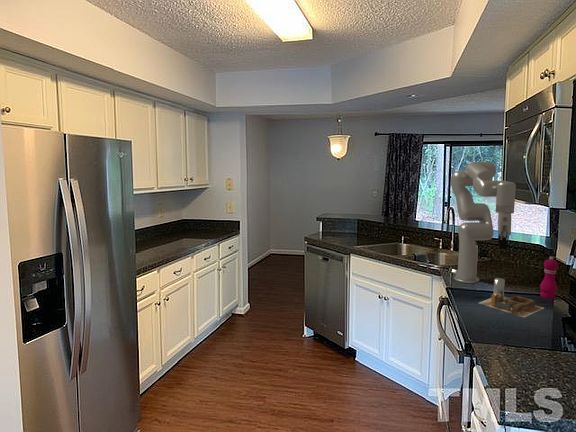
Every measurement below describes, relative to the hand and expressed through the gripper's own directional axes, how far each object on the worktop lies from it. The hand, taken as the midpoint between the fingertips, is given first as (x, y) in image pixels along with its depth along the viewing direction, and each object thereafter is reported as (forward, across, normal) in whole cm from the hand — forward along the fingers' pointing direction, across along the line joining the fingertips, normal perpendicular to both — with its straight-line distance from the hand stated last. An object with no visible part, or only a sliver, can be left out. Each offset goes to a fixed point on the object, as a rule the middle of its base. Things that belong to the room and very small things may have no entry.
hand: (502, 246), depth 199 cm
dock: (+27, -4, -4) cm, 28 cm away
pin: (+26, -9, 0) cm, 27 cm away
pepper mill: (+27, +19, -22) cm, 40 cm away
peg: (+26, +1, 0) cm, 26 cm away
